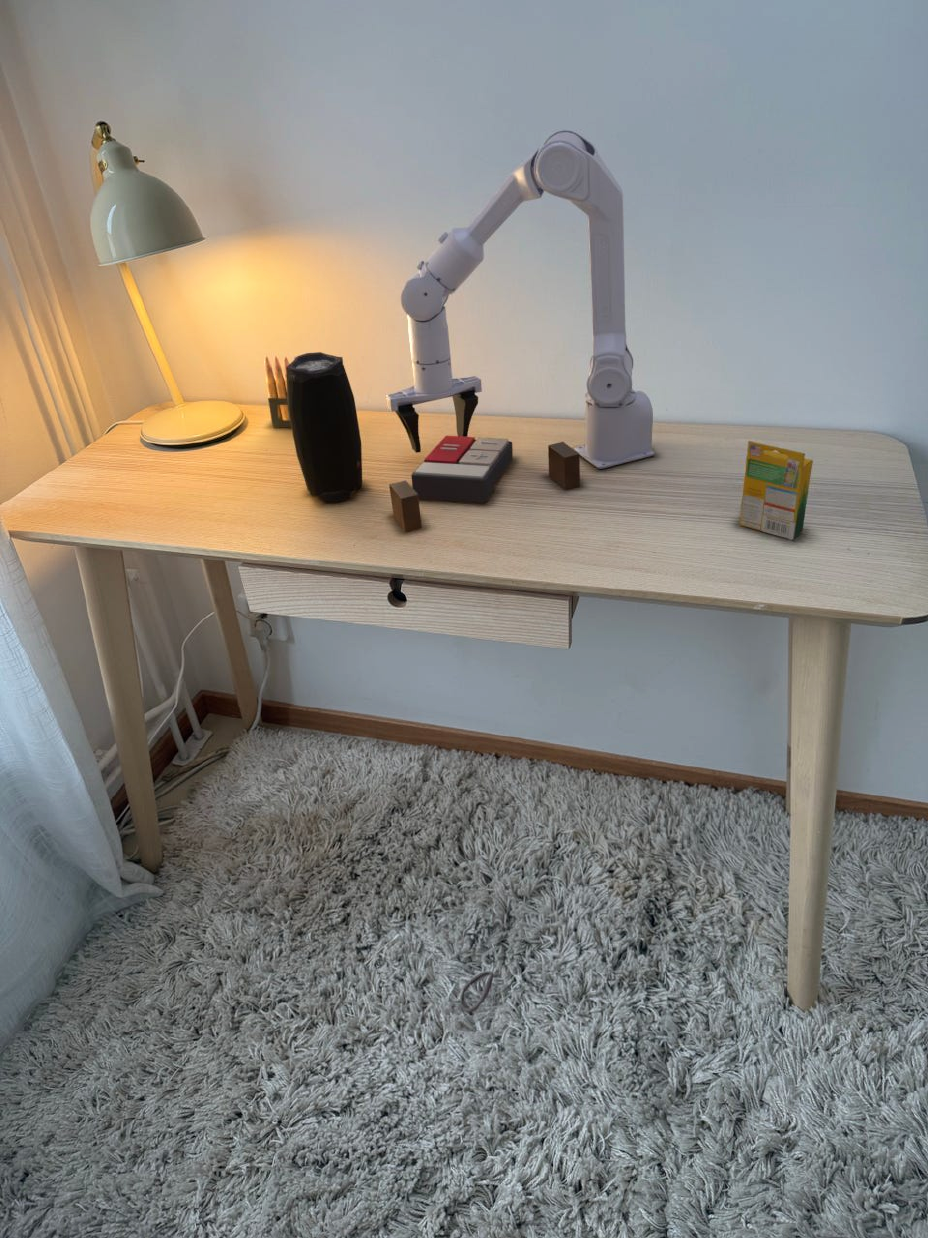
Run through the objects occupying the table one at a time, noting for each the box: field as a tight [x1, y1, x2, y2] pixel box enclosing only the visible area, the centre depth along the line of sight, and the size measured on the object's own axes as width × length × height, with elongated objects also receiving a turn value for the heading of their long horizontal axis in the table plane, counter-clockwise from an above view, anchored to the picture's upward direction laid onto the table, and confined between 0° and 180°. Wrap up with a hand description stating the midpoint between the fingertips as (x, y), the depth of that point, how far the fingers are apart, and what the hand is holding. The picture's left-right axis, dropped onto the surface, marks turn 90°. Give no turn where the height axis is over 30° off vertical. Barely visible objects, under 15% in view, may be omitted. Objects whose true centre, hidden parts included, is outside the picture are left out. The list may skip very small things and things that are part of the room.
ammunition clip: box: [263, 355, 297, 428], centre depth 154 cm, size 11×2×12 cm, turn 75°
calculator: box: [410, 435, 514, 504], centre depth 134 cm, size 11×4×15 cm
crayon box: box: [738, 440, 813, 541], centre depth 113 cm, size 7×3×12 cm, turn 49°
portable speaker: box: [286, 351, 363, 504], centre depth 129 cm, size 9×9×20 cm
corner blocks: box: [388, 441, 581, 533], centre depth 127 cm, size 26×5×5 cm, turn 112°
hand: (439, 444), depth 142 cm, fingers open, 7 cm apart
